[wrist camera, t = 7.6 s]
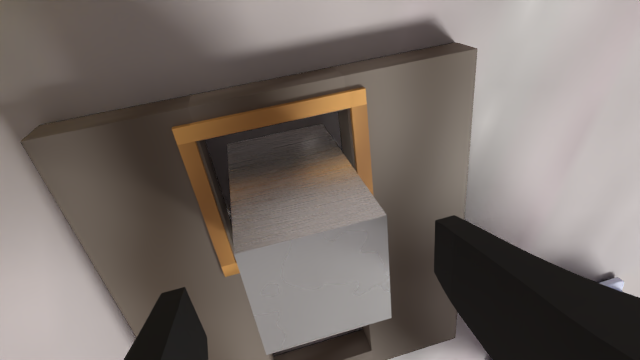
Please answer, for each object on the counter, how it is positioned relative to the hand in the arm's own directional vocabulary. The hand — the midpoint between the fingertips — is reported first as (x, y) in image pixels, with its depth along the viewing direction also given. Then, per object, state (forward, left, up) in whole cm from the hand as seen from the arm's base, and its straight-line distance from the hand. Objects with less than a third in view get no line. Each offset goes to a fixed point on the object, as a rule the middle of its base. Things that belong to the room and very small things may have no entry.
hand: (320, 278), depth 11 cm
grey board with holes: (0, +4, -7) cm, 8 cm away
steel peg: (0, 0, -7) cm, 7 cm away
